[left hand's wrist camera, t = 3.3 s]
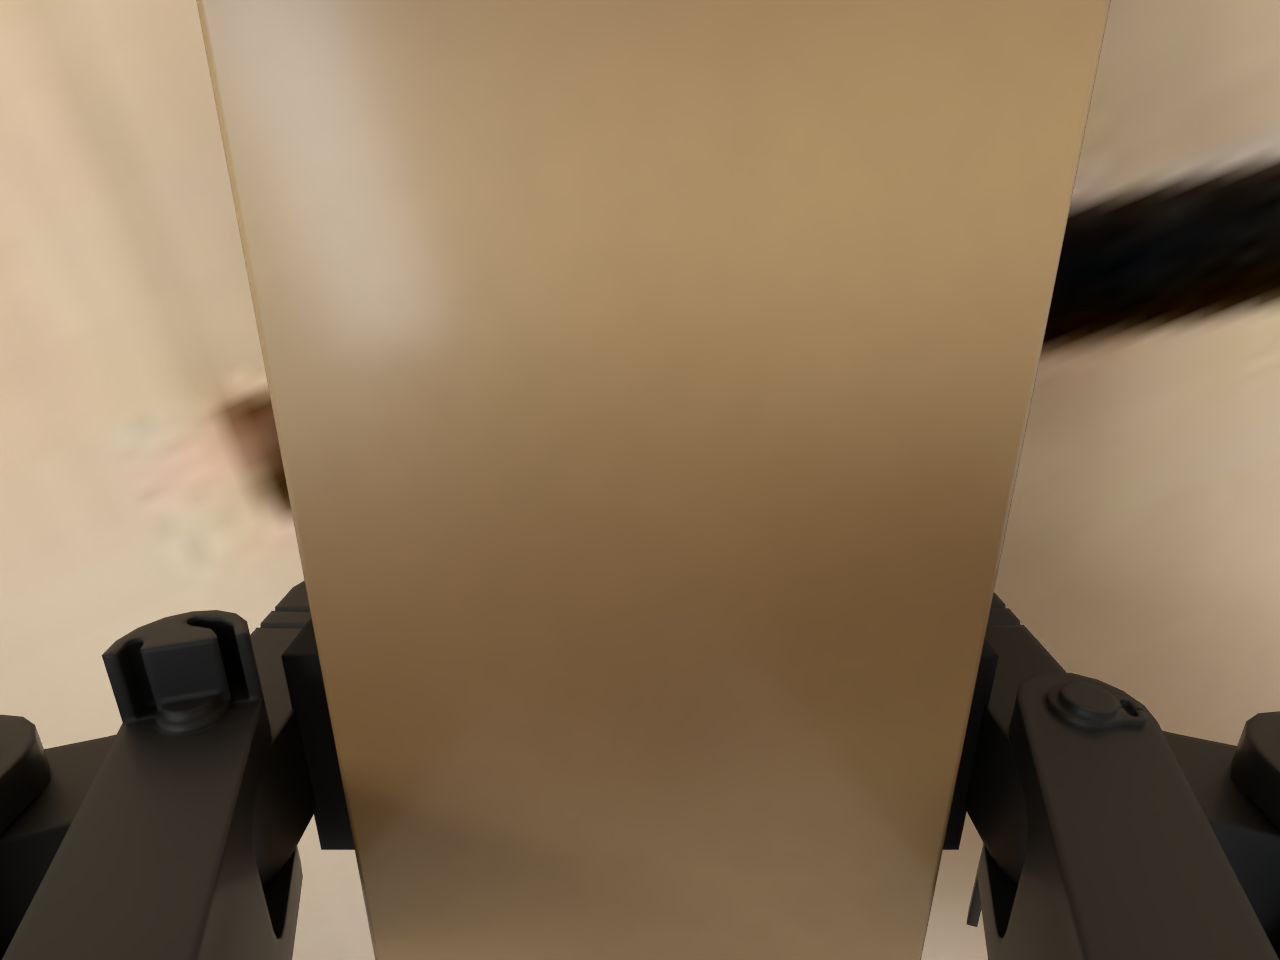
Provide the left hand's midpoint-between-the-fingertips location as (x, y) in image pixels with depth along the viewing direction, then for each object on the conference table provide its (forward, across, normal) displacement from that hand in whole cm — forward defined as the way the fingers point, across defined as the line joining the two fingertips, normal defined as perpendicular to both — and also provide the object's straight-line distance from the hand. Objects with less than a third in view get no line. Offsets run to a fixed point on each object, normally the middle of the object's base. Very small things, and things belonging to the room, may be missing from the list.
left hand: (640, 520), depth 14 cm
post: (+1, 0, -18) cm, 18 cm away
